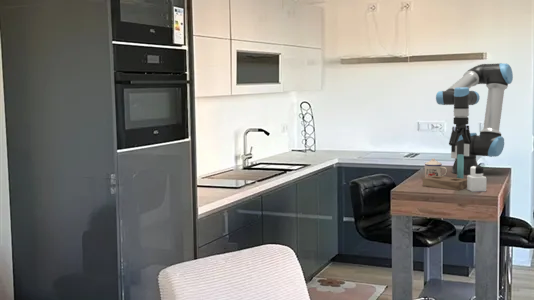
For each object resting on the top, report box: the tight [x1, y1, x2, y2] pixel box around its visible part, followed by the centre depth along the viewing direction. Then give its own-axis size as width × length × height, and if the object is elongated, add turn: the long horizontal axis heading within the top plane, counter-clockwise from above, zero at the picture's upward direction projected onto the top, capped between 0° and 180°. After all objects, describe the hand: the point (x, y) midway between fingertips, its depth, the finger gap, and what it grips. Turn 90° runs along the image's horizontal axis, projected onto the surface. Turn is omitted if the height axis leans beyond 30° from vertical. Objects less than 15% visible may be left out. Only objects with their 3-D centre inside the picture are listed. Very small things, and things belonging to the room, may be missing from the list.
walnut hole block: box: [422, 176, 467, 191], centre depth 320 cm, size 12×20×4 cm, turn 45°
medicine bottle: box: [466, 165, 487, 193], centre depth 307 cm, size 7×7×12 cm
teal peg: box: [456, 154, 464, 179], centre depth 330 cm, size 3×3×15 cm
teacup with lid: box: [424, 158, 448, 178], centre depth 341 cm, size 12×9×12 cm
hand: (460, 157), depth 329 cm, fingers open, 13 cm apart
